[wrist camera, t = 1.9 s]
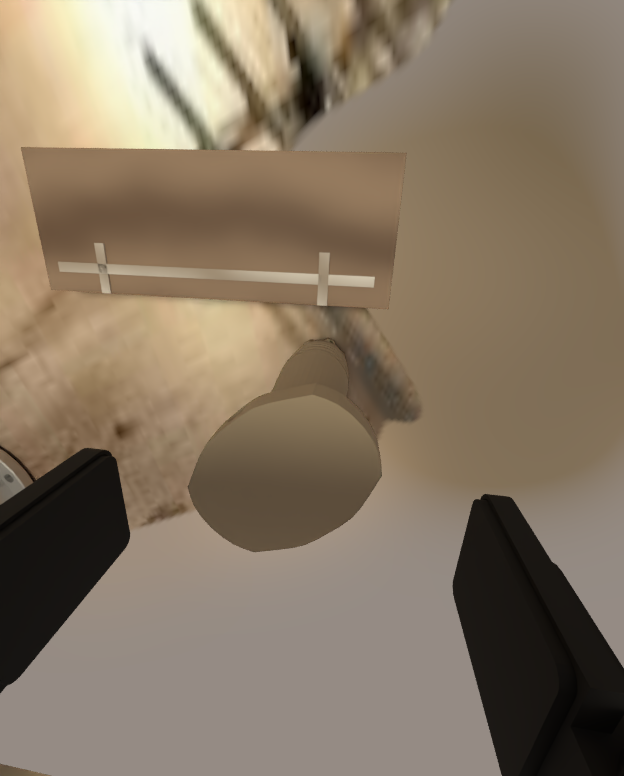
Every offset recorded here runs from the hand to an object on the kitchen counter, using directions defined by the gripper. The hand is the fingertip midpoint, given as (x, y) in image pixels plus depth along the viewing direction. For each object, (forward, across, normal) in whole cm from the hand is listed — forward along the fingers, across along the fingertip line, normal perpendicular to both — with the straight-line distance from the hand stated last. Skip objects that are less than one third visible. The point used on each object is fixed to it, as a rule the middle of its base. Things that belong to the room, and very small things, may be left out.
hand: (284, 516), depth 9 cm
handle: (+17, +1, 0) cm, 17 cm away
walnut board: (+17, +8, -8) cm, 20 cm away
